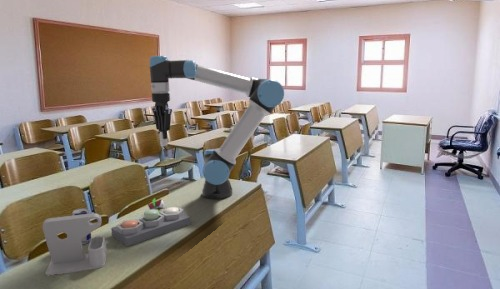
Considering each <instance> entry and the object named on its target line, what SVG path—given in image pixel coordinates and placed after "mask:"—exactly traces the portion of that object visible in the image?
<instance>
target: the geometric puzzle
mask: <svg viewBox="0 0 500 289" xmlns="http://www.w3.org/2000/svg"><path fill="white" fill-rule="evenodd" d="M156 199H157V198H156V197H154V198H153V199H152V200H151V201H150V203H147V207H148V208H149V210H152V209H155V210H158V211H159V213H160V212H161V211H162V210H163V209H165V208H167V207H166V203H165V201H163V199H160V198H159V199H158V200H156Z"/></svg>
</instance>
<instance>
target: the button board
mask: <svg viewBox="0 0 500 289" xmlns="http://www.w3.org/2000/svg"><path fill="white" fill-rule="evenodd" d="M175 207H176V208H178V209H179V212H178V213H176V214H165V209H167V208H168V207H166V208H163V209H162V210H161V212H160V213H159V218H158V219H156V220H152V221H147V220H145V219H144V215H142V216H141V217H140V218H138V219H134V220H136V221H137V222H138V225H137V226H135V227H132V228H122V223H123V222H124V221H127V219H126V220H123V221H121V222H120V223H119V224H117V225H116V226H113V227H111V228H110V229H111V236H113V237H114V238H115V239H116V240H118V241H119V242H120V243H122V244H123V245H124V246H126V247H130V246H133V245H136V244H138V243H141V242H144V241H147V240H149V239H153V238H155V237H158V236H161V235H165V234H166V233H168V232H169V233H170V232H171V231H174V230H177V229H180V228H183V227H186V226H189V225H191V224H192V222H191V221H192V220H191V216H190V215H187V214H185V212H184V209H183V208H181V207H178V206H175Z"/></svg>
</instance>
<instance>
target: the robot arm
mask: <svg viewBox="0 0 500 289" xmlns="http://www.w3.org/2000/svg"><path fill="white" fill-rule="evenodd" d="M149 73H150V74H149V75H150V87H151V92H152V93H151V101H152V102H153V103H154V107H152V108H151V111H152V113H153V114H152V115H153V118H154V123H155V129H156V130H158V132H159V142H160V147H166V146H169V145H168V143H169V142H168V131H171V119H172V113H173V109H172V108H170V107H169V102H170V101H171V97H170V96H171V94H170V93H169V92H170V79H188V80H191V81H195V82H199V83H202V84H203V83H204V84H207V85H210V86H215V87H218V88H221V89H225V90H228V91H232V92H236V93H241V94H244V95H245V96H246V97H247V98H249V100H248V102H249V105H248V106H247V108H246V109H245V110H244V112H243V113H242V115H241V117H240V118H239V120H238V121H237V122H236V124H235V125H234V126H233V128H232V130H231V131H230V132H229V134H228V135H227V137H226V138H225V140H224V142H223V143H222V144H221V145H220V147H217V148H211V149H205V150H204V152H203V157H204V158H203V159H204V161H203V168H202V174H203V177H204V183H203V187H202V190H201V194H202V197H204V198H206V199H212V200H219V199H220V200H221V199H226V198H229V197H231V196H232V195H233V187H232V184H231V182H230V179H229V177H230V174H231V171H232V170H233V169H234V167H235V166H236V164H237V161H236V159H237V157H238V156H239V154H240V152H241V151H242V150H243V148H244V147H245V145H246V144H247V143H248V141H249V140H250V139H251V137H252V136H253V134H254V132H256V130H257V128H258V126H260V124H261V123H262V121H263V120H264V118H265V117H266V116H268V115H271V114H272V113H273V111H274V110H275V109H276V107H277V106H279V105H280V104H281V103H282V102H283V100H284V98H285V90H284V88H283V85H282V84H281V83H280V82H279V81H278V80H276V79H274V78H273V79H272V78H257V77H254V76H252V77H250V78H249V77H245V76H241V75H238V74H234V73H231V72H226V71H223V70H219V69H216V68H213V67H208V66H204V65H201V64H197V63H196V61H195V60H189V59H183V60H181V59H180V60H169V59H168V57H167V55H152V56H150V58H149Z"/></svg>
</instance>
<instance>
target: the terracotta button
mask: <svg viewBox="0 0 500 289" xmlns="http://www.w3.org/2000/svg"><path fill="white" fill-rule="evenodd" d="M126 220H127V219H126ZM126 220H123V221H124V222H123V221H122V222H123V223H122V228H132V227H135V226H137V225H138V222H137V221H136V220H135V219H129V220H127V221H126Z"/></svg>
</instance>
